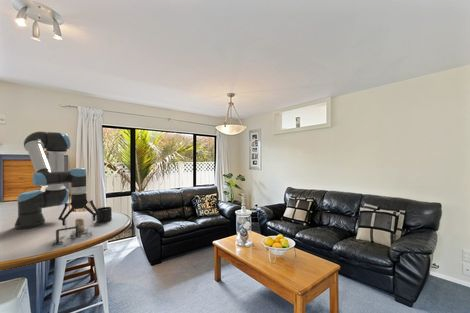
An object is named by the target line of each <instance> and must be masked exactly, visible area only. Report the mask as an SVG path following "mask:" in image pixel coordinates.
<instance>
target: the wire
mask: <svg viewBox="0 0 470 313" xmlns="http://www.w3.org/2000/svg"><path fill="white" fill-rule="evenodd" d="M75 228H76V229H75ZM73 229H75V231H76V235H73V236H71V239H72V240H73V239H78V238H82V235H81V234H79V235H78V224H76V225H75V226H70V227H67V228H65V227H64V228H58V229H57V230H55V241H54V242H52V244H51V246H52V247H53V246H59V245H63V243H64V240H60V232H61V231H65V230H73Z"/></svg>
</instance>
